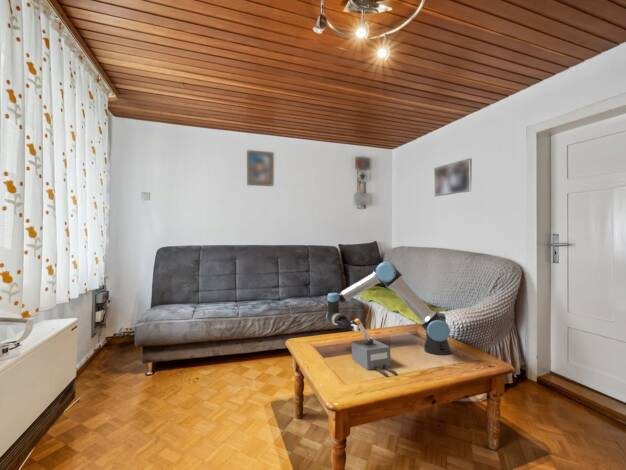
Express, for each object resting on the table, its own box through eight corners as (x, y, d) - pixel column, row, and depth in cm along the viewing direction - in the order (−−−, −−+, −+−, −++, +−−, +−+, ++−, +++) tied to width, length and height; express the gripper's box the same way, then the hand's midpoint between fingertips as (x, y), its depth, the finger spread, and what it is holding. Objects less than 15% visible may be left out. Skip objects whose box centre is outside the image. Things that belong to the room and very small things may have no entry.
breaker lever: (367, 343, 159) (353, 320, 158) (370, 340, 160) (356, 317, 159) (370, 344, 156) (356, 321, 155) (374, 341, 157) (359, 319, 155)
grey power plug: (352, 359, 163) (351, 341, 164) (373, 356, 168) (372, 338, 169) (379, 378, 136) (378, 356, 137) (404, 374, 140) (402, 352, 141)
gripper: (349, 326, 175) (368, 334, 153) (330, 328, 171) (346, 337, 149) (349, 313, 176) (368, 320, 154) (329, 315, 172) (346, 322, 150)
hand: (357, 328), depth 151 cm, fingers closed
